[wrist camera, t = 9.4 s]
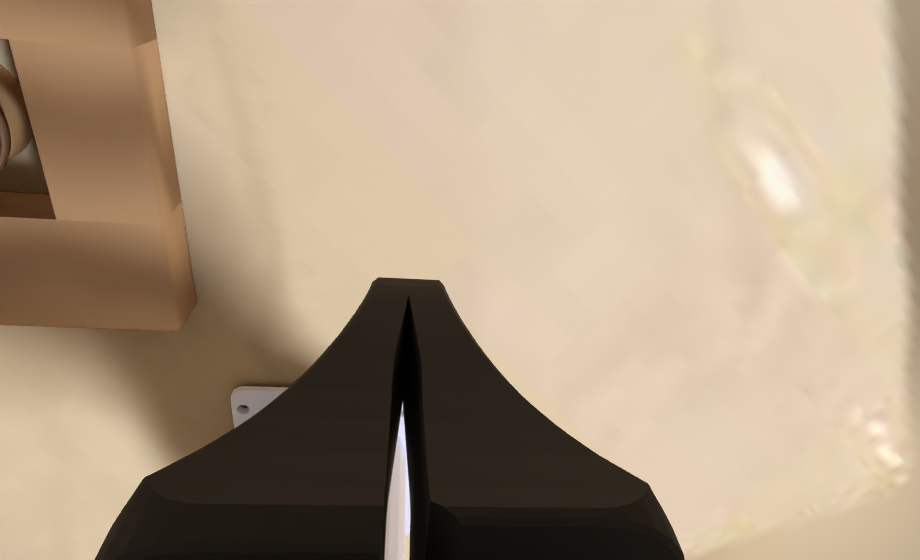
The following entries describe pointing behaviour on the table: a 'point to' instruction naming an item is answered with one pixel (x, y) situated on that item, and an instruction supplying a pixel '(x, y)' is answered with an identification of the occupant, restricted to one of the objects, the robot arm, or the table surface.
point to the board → (94, 174)
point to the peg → (12, 118)
